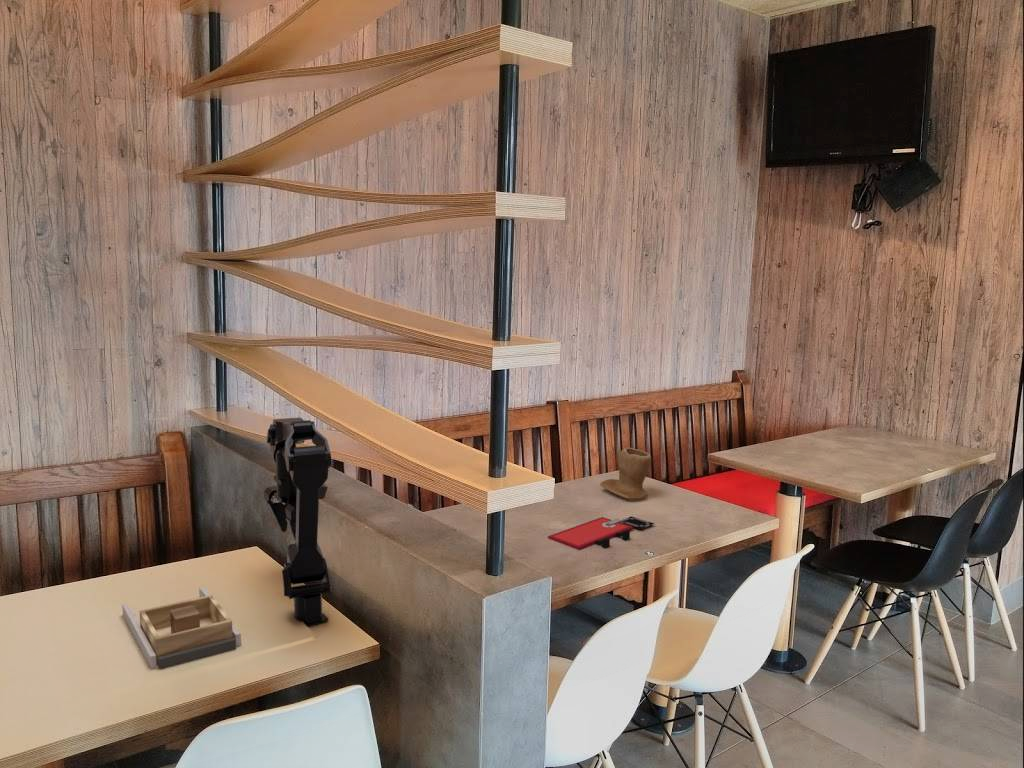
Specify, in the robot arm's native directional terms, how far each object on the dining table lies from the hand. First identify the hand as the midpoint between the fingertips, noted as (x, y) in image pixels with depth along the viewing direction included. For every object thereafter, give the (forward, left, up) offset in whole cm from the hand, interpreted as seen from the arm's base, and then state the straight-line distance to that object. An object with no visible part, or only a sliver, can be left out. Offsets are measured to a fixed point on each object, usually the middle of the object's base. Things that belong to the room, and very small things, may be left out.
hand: (291, 537), depth 193 cm
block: (-16, +28, -10) cm, 34 cm away
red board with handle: (-14, -84, -12) cm, 86 cm away
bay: (-12, +28, -11) cm, 32 cm away
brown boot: (+8, -113, -11) cm, 114 cm away
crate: (-17, +28, -10) cm, 34 cm away
